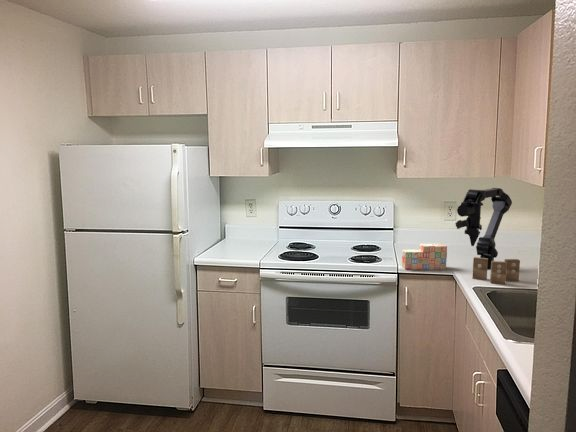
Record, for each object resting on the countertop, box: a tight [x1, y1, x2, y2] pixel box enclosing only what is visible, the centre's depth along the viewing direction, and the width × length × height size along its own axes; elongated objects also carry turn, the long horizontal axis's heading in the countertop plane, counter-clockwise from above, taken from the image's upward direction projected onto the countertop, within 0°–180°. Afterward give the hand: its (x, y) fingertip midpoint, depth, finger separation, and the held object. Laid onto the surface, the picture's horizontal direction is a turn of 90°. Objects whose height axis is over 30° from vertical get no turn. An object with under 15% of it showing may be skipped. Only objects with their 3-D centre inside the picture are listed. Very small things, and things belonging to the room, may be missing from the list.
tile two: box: [504, 258, 521, 282], centre depth 223 cm, size 3×6×10 cm, turn 93°
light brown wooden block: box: [489, 260, 507, 285], centre depth 219 cm, size 3×6×10 cm, turn 77°
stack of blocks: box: [401, 243, 448, 271], centre depth 247 cm, size 21×6×12 cm, turn 92°
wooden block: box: [472, 256, 488, 281], centre depth 226 cm, size 3×6×10 cm, turn 61°
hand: (472, 245), depth 239 cm, fingers closed
